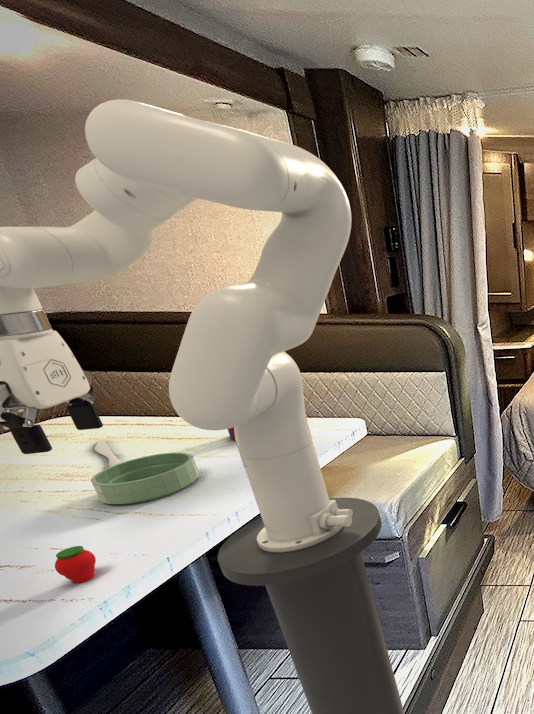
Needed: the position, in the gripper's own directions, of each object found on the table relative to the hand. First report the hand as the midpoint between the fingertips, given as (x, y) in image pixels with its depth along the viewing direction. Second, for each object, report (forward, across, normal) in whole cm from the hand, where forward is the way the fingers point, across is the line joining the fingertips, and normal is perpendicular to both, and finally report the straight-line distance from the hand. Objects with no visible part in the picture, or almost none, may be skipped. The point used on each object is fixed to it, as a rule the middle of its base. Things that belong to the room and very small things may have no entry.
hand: (65, 439), depth 76 cm
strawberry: (+17, -13, -5) cm, 22 cm away
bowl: (+17, +17, +4) cm, 24 cm away
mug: (+17, +43, -1) cm, 46 cm away
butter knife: (+16, +39, +25) cm, 49 cm away
